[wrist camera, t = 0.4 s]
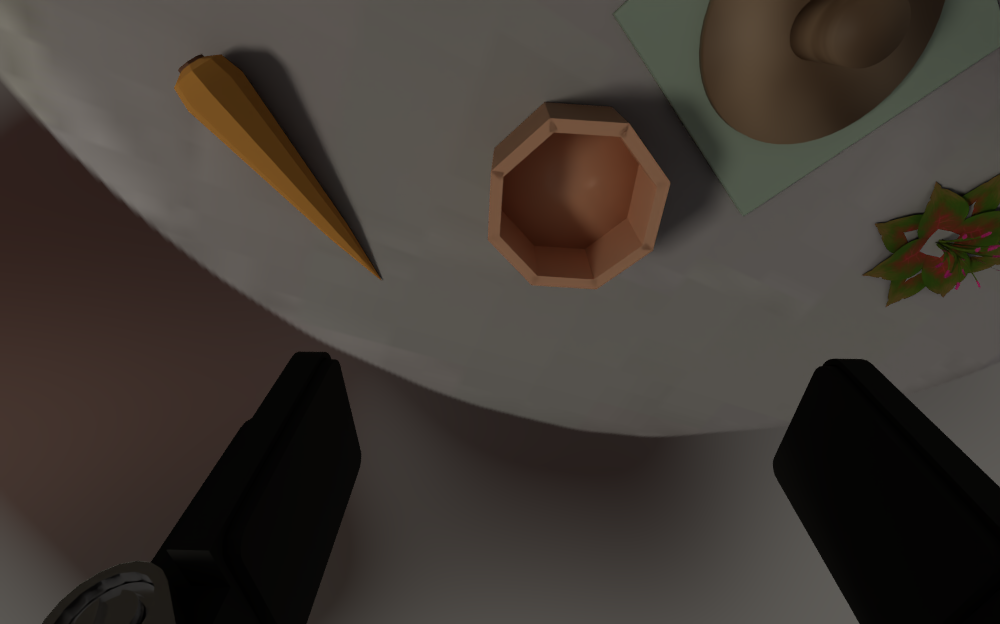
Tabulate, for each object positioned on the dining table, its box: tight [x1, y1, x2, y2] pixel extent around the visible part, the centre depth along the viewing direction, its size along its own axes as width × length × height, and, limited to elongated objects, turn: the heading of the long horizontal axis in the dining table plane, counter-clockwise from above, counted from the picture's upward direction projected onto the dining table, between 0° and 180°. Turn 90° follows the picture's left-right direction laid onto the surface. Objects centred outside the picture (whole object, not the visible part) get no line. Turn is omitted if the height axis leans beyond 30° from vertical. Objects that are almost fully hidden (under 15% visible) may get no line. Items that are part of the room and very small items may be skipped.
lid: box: [699, 0, 945, 144], centre depth 27 cm, size 14×14×6 cm
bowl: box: [488, 102, 670, 289], centre depth 34 cm, size 12×12×6 cm
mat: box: [613, 0, 1000, 216], centre depth 30 cm, size 18×18×1 cm
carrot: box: [174, 54, 382, 281], centre depth 36 cm, size 20×4×4 cm, turn 29°
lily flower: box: [863, 175, 1000, 307], centre depth 36 cm, size 12×12×5 cm
